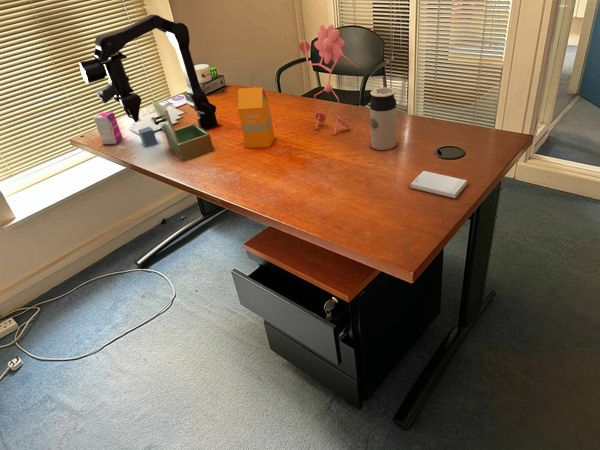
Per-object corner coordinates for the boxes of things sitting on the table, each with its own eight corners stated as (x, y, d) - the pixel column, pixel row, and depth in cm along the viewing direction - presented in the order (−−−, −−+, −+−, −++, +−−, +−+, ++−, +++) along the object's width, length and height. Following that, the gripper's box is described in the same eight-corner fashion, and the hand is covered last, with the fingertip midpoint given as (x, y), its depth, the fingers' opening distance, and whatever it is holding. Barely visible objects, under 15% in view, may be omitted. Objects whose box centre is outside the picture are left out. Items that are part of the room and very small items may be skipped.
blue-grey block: (154, 139, 174) (149, 126, 171) (157, 143, 171) (153, 129, 167) (142, 143, 172) (137, 130, 169) (146, 147, 169) (141, 133, 166)
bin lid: (153, 99, 154) (141, 104, 152) (167, 109, 143) (154, 114, 142) (165, 131, 161) (154, 135, 159) (179, 143, 150) (167, 147, 149)
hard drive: (410, 183, 120) (455, 193, 113) (423, 170, 125) (467, 179, 118) (410, 188, 121) (454, 199, 114) (423, 175, 126) (466, 184, 119)
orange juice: (251, 138, 163) (241, 84, 151) (274, 137, 161) (265, 83, 149) (245, 148, 156) (234, 92, 145) (269, 147, 154) (259, 91, 143)
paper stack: (120, 124, 193) (119, 123, 192) (171, 106, 205) (170, 105, 205) (141, 137, 177) (141, 135, 177) (195, 116, 189) (195, 115, 189)
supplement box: (116, 144, 174) (105, 117, 168) (103, 145, 176) (92, 118, 169) (123, 138, 179) (113, 111, 172) (111, 139, 180) (100, 112, 174)
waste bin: (198, 138, 169) (194, 123, 165) (213, 150, 158) (209, 134, 155) (170, 148, 164) (165, 133, 161) (183, 161, 154) (178, 144, 150)
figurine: (351, 140, 151) (344, 31, 131) (298, 126, 167) (285, 27, 147) (379, 124, 159) (376, 20, 139) (326, 112, 175) (317, 17, 155)
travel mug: (390, 138, 148) (389, 85, 138) (400, 147, 142) (400, 92, 132) (367, 143, 147) (365, 90, 137) (376, 152, 141) (375, 97, 131)
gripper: (87, 76, 153) (104, 119, 162) (99, 86, 139) (117, 132, 148) (119, 68, 157) (134, 110, 166) (133, 77, 144) (149, 122, 153)
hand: (133, 118), depth 158 cm, fingers open, 9 cm apart
